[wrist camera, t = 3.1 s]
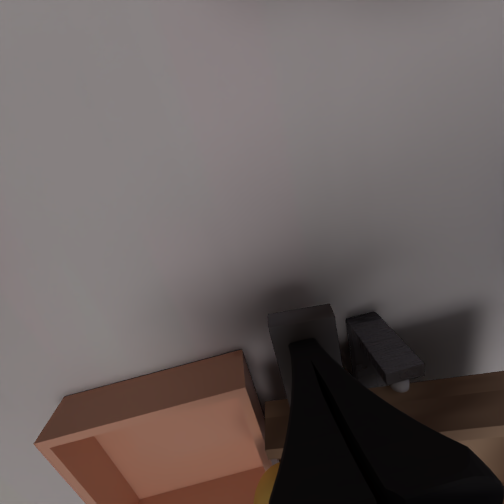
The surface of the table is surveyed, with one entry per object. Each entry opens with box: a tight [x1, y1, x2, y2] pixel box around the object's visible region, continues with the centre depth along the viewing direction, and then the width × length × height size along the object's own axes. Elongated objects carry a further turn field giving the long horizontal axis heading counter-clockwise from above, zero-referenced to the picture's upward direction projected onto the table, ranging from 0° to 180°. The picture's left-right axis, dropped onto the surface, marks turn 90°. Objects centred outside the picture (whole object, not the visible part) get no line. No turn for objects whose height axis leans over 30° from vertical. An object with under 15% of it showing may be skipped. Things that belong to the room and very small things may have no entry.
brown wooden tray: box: [265, 304, 504, 504], centre depth 14 cm, size 16×16×3 cm
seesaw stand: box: [346, 312, 424, 388], centre depth 18 cm, size 2×13×5 cm, turn 14°
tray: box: [34, 350, 279, 504], centre depth 18 cm, size 12×12×3 cm
